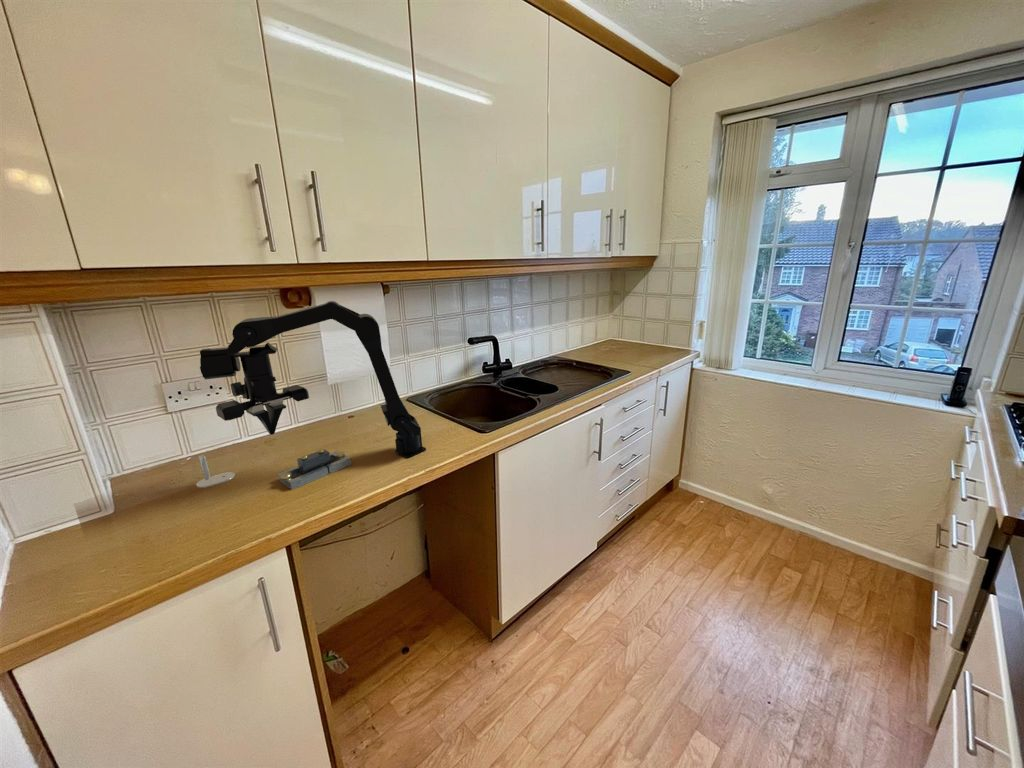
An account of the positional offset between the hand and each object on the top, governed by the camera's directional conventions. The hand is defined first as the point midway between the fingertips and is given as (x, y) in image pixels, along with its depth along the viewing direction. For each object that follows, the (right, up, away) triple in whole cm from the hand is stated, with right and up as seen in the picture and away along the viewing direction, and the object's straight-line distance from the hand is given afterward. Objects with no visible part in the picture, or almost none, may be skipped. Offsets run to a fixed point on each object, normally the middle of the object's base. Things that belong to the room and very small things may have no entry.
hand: (271, 434), depth 102 cm
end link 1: (+6, -11, +3) cm, 13 cm away
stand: (-16, -12, +3) cm, 20 cm away
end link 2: (+12, -9, +9) cm, 17 cm away
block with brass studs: (+8, -11, +5) cm, 15 cm away
